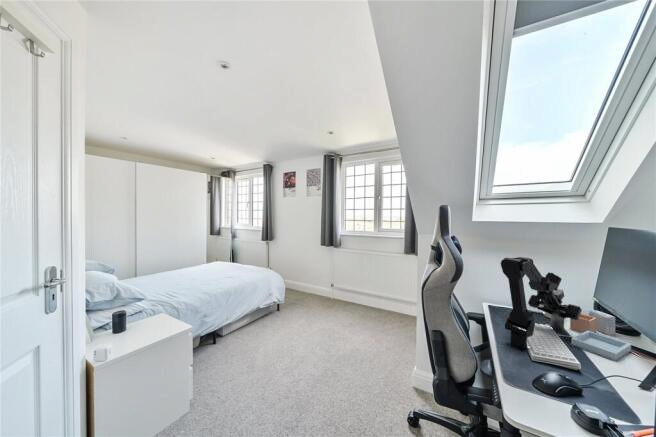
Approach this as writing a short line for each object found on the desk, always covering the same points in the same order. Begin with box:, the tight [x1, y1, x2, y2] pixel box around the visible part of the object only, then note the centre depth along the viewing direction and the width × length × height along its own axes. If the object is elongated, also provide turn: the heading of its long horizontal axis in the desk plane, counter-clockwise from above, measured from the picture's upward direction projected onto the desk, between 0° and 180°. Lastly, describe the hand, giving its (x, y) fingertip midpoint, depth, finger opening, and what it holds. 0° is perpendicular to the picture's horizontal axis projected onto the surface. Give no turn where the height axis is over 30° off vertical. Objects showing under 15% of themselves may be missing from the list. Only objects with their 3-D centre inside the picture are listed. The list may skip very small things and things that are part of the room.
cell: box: [550, 310, 565, 333], centre depth 120 cm, size 5×5×12 cm
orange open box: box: [569, 313, 597, 334], centre depth 118 cm, size 7×7×7 cm
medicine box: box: [588, 310, 616, 336], centre depth 118 cm, size 8×4×9 cm, turn 179°
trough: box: [570, 331, 632, 362], centre depth 103 cm, size 16×13×3 cm
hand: (558, 316), depth 120 cm, fingers closed on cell, 5 cm apart
